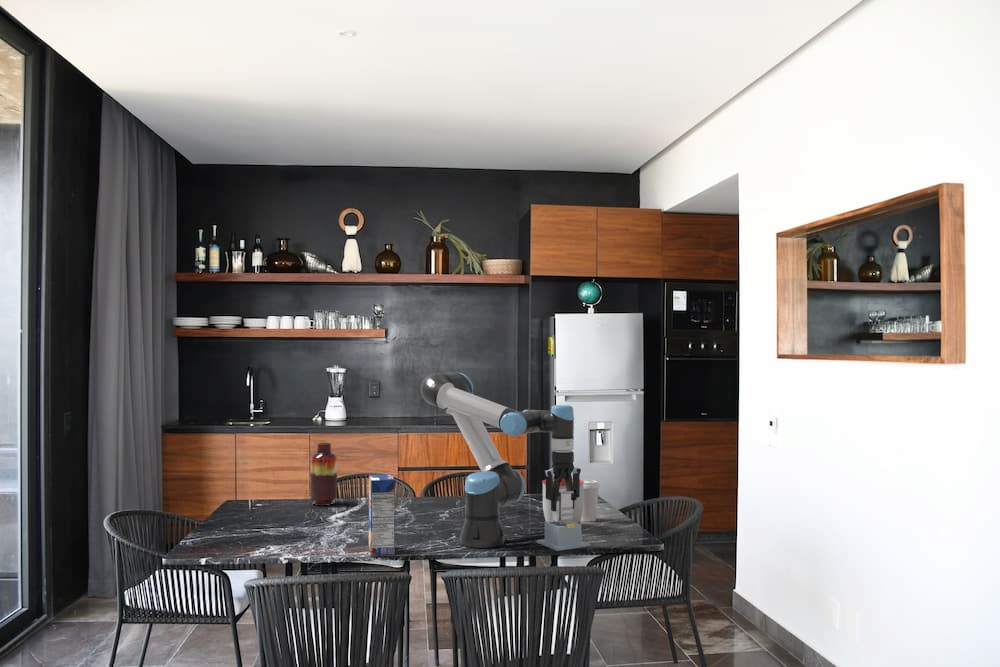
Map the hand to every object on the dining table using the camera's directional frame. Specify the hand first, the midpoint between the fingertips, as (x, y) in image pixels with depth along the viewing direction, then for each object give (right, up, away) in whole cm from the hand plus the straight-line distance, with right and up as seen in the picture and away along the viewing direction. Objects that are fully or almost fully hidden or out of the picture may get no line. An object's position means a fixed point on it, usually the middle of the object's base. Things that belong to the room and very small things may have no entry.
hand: (562, 519), depth 261 cm
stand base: (0, -8, 0) cm, 8 cm away
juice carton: (-60, -8, -9) cm, 61 cm away
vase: (-97, -11, +71) cm, 121 cm away
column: (0, -8, 0) cm, 8 cm away
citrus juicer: (+2, -9, +27) cm, 29 cm away
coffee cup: (+13, -10, +39) cm, 42 cm away
